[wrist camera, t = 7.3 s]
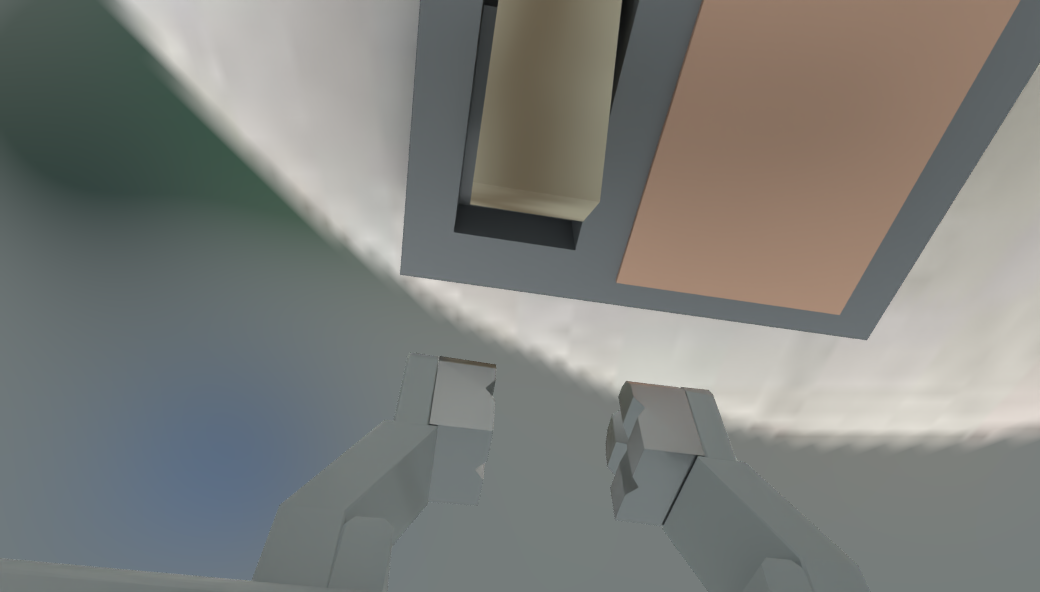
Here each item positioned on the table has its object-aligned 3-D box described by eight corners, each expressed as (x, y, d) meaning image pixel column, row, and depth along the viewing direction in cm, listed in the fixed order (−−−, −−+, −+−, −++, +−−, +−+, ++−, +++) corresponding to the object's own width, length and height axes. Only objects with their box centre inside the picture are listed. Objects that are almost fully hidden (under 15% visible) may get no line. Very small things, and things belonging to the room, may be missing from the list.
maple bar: (622, -131, 24) (642, -189, 22) (582, 221, 22) (599, 201, 20) (520, -153, 24) (528, -214, 22) (469, 204, 22) (473, 182, 20)
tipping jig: (1052, -222, 23) (1237, -245, 17) (809, 258, 35) (868, 342, 29) (471, -360, 21) (451, -441, 15) (421, 199, 33) (399, 277, 27)
